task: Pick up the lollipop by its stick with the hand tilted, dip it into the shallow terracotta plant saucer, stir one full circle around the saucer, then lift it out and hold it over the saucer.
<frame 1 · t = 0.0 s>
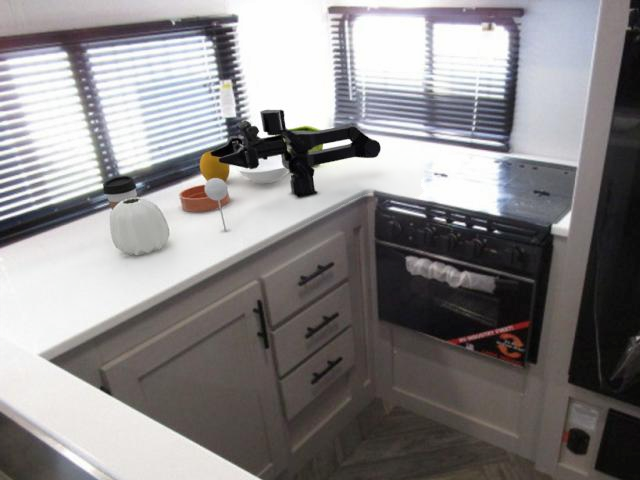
hand: (214, 157, 165), 17 cm above the countertop, tool horizontal, fingers open, 9 cm apart
vase: (146, 249, 151), on the countertop
flower pot: (303, 166, 213), on the countertop
coffee cup: (133, 232, 163), on the countertop
terracotta plant saucer: (206, 205, 179), on the countertop
bowl: (268, 181, 198), on the countertop
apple: (218, 184, 198), on the countertop
lollipop: (225, 231, 159), on the countertop
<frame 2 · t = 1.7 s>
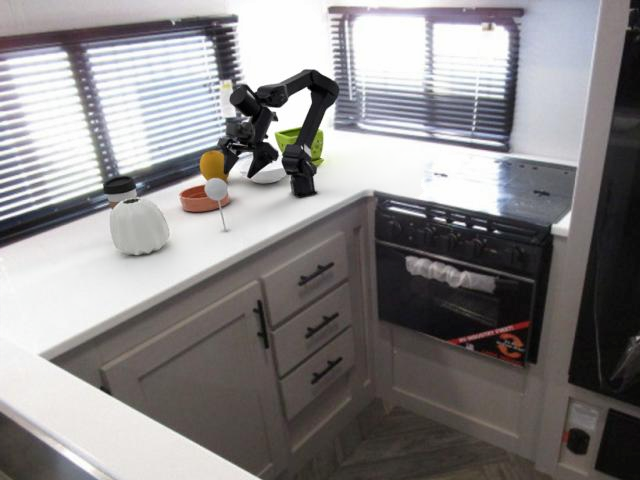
hand: (236, 176, 158), 13 cm above the countertop, tool tilted 45°, fingers open, 9 cm apart
nothing on the countertop moved.
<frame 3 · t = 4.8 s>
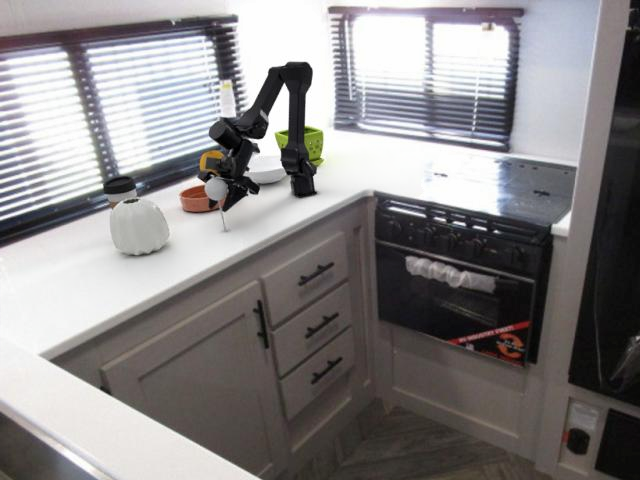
hand: (216, 210, 155), 7 cm above the countertop, tool tilted 45°, fingers closed on lollipop, 5 cm apart
lollipop: (225, 231, 159), on the countertop, touching gripper
everything else where it was.
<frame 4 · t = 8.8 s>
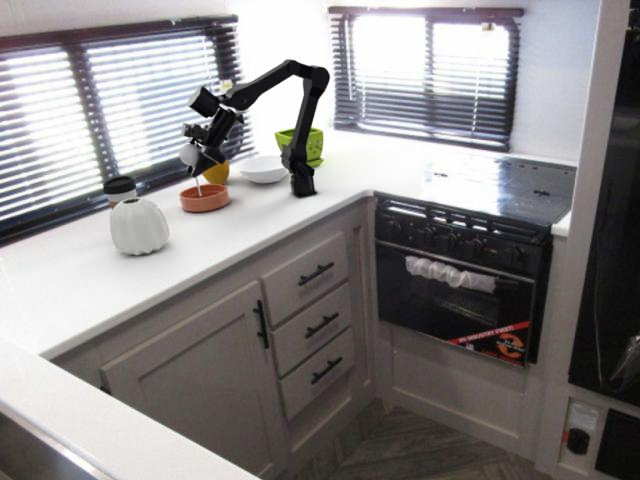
hand: (190, 174, 162), 13 cm above the countertop, tool tilted 45°, fingers closed on lollipop, 5 cm apart
lollipop: (200, 196, 166), point 6 cm above the countertop, touching gripper
everything else where it was.
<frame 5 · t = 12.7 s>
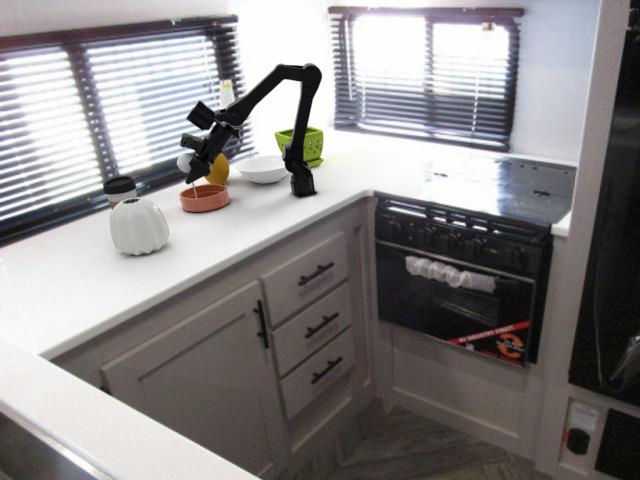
hand: (187, 181, 174), 8 cm above the countertop, tool tilted 45°, fingers closed on lollipop, 5 cm apart
lollipop: (197, 201, 178), point 2 cm above the countertop, touching gripper
everything else where it was.
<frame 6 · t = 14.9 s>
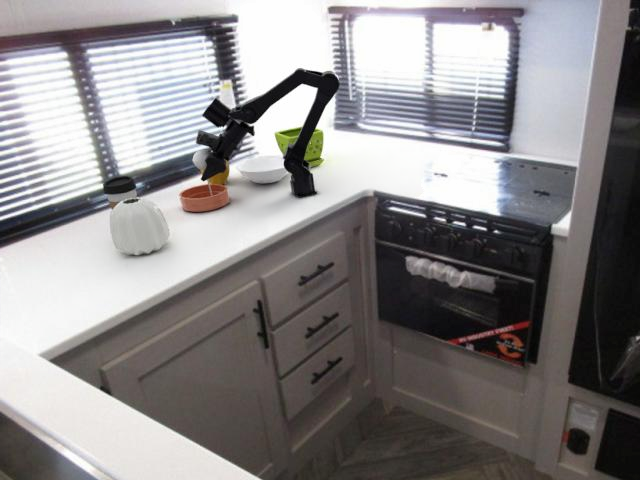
hand: (202, 178, 176), 8 cm above the countertop, tool tilted 45°, fingers closed on lollipop, 5 cm apart
lollipop: (212, 198, 180), point 2 cm above the countertop, touching gripper
everything else where it was.
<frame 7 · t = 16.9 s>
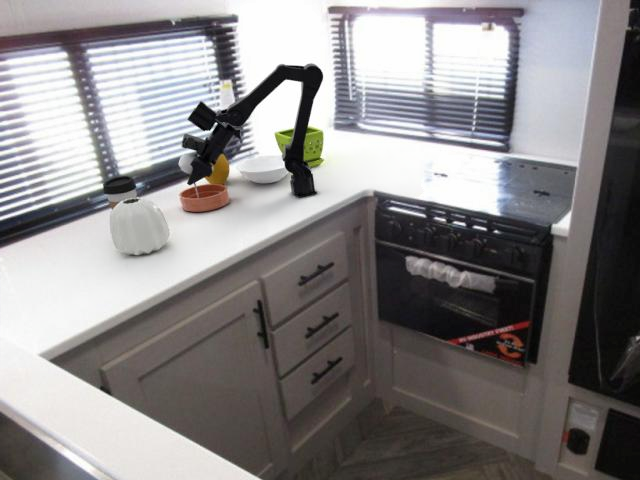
hand: (189, 181, 174), 8 cm above the countertop, tool tilted 45°, fingers closed on lollipop, 5 cm apart
lollipop: (199, 202, 178), point 1 cm above the countertop, touching gripper
everything else where it was.
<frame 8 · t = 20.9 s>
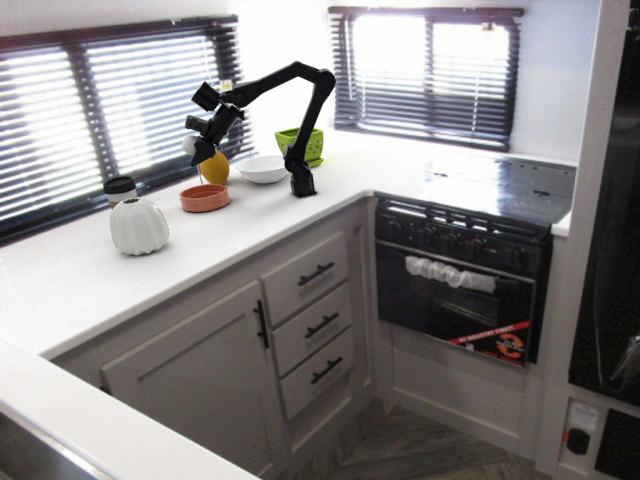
hand: (192, 163, 173), 13 cm above the countertop, tool tilted 45°, fingers closed on lollipop, 5 cm apart
lollipop: (202, 185, 176), point 6 cm above the countertop, touching gripper
everything else where it was.
at the end: the gripper is holding lollipop; lollipop 0.2 cm from the terracotta plant saucer (horizontally); lollipop point 6.5 cm above the countertop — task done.
